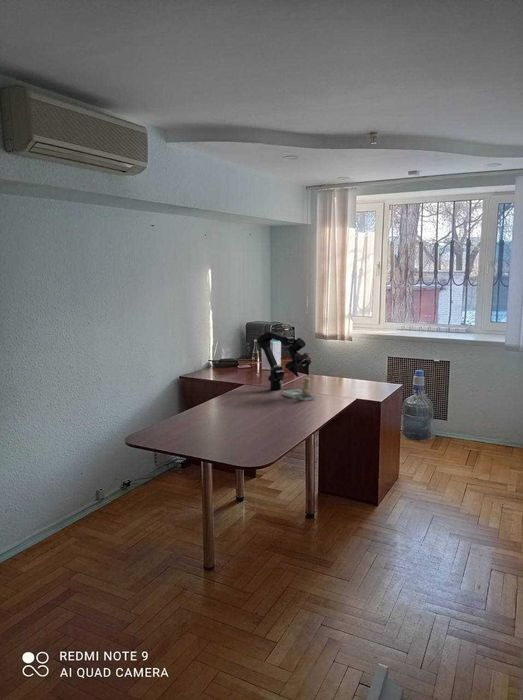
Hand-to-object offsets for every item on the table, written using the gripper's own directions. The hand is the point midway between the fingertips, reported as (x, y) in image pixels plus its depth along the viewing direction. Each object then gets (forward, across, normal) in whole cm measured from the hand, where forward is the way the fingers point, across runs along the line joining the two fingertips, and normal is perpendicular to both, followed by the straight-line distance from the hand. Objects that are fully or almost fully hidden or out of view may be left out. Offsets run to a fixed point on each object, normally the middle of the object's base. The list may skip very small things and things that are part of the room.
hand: (303, 375), depth 326 cm
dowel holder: (+15, -5, +1) cm, 16 cm away
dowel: (+15, -5, +1) cm, 16 cm away
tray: (+9, -3, +10) cm, 14 cm away
